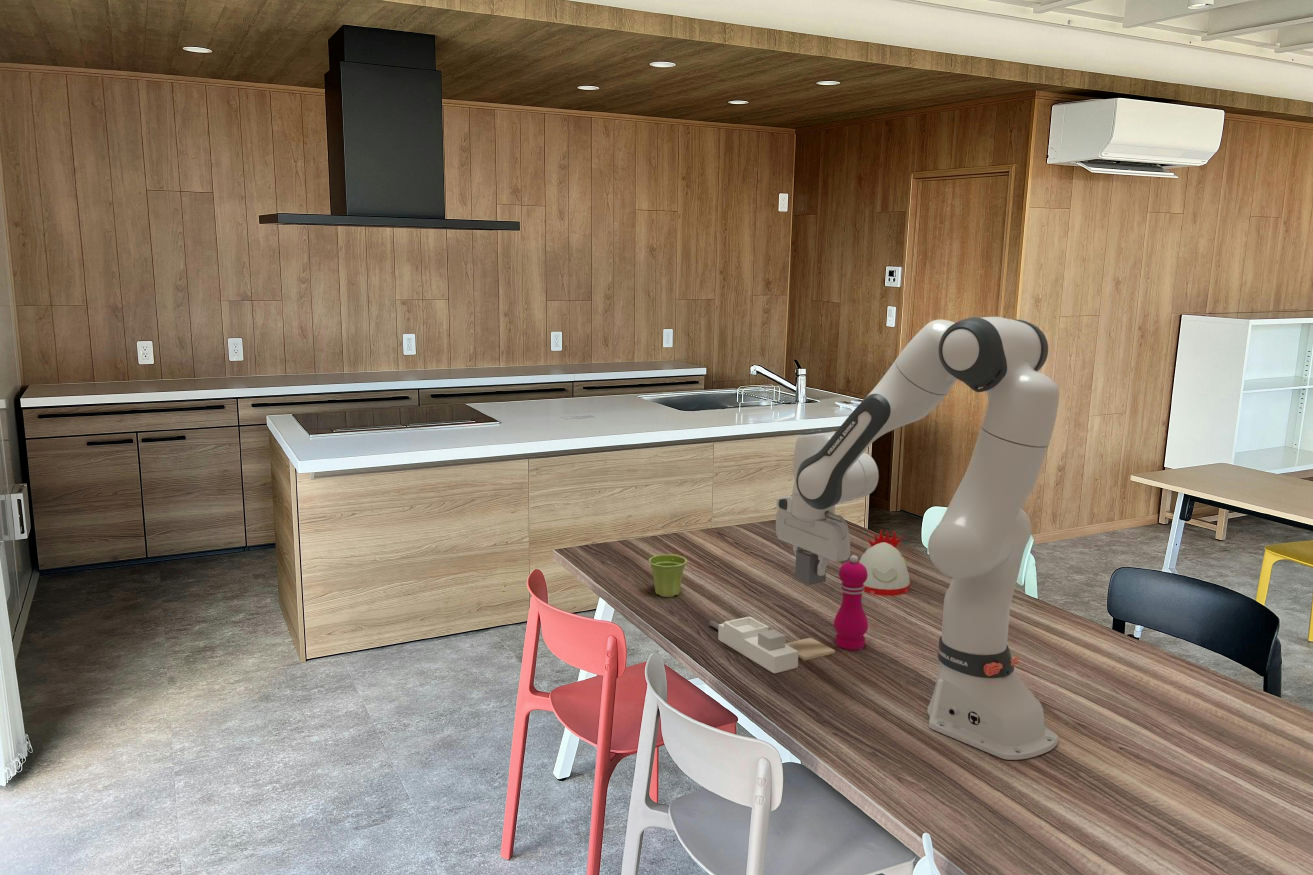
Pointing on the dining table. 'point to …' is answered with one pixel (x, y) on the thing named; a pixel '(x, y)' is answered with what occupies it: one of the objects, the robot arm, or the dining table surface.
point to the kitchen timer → (885, 567)
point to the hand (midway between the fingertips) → (810, 570)
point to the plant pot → (667, 574)
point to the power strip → (750, 645)
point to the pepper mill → (851, 606)
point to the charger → (807, 568)
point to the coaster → (810, 648)
